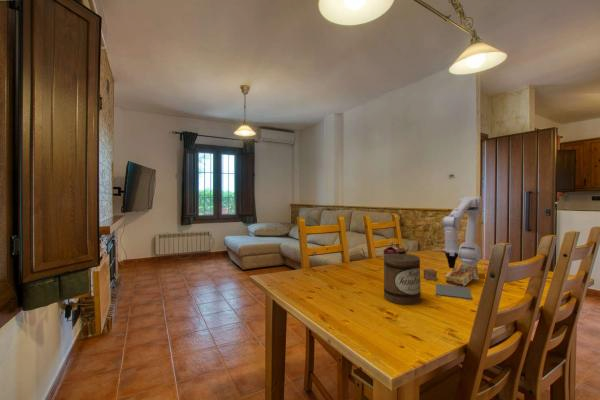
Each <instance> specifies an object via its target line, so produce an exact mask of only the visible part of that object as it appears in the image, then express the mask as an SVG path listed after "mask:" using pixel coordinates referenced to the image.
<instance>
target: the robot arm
mask: <svg viewBox="0 0 600 400" xmlns="http://www.w3.org/2000/svg"><path fill="white" fill-rule="evenodd" d="M458 201H459V204H458V206H457V207H454V208H453V209H452V211H451V212H450V213H449V215H447V216H444V217H443V218H442V222H441V225H442V228H443V231H444V248H442V249H441V250H442V252H443V251H444V252H445V253H444V255H445V257H446V260H447V264H448V268H449V269H454V268H455V267H456V262H457V261H456V260H457V259H459V260H460V261H461V264H466V265H471V266H477V267H478V262H480V260H481V259H482V251H481V250H482V249H481V247H480V246H479V245H478V244H477V242H476V239H477V231H478V225H479V223H478V222H479V215H480V213H482V212H483V207H484V200H483V197H482V196H480V195H478V196H477V195H476V196H474V195H470V196H468V195H467V196H463V195H461V196H460V197H459V200H458ZM465 213H466V214H467V219H466V220H467V222H466V229H465V236H464V237H465V238H464V242H463V243H461V244H460V245H459V236H458V235H459V228H460V226H461V223H462V221H461V220H462V219H463V218H464V217H465ZM472 280H477V281H479V280H480V278H479V275H478V274H477V275H476V276H475V277H474V278H473V279H472Z"/></svg>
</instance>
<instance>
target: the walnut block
mask: <svg viewBox="0 0 600 400" xmlns="http://www.w3.org/2000/svg"><path fill="white" fill-rule="evenodd" d="M437 273H438V272H437V270H436V269H434V268H423V279H424V280H425V281H431V282H433V281H435V282H437V280H438V277H437V276H438V274H437Z"/></svg>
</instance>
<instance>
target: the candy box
mask: <svg viewBox="0 0 600 400" xmlns="http://www.w3.org/2000/svg"><path fill="white" fill-rule="evenodd" d="M478 269H479V268H478V265H477V266H471V265H466V264H462V262H460V263H458V264H457V265H455V267H454V268H451V270H450V271H448V273H446V274H445V275H444V277H445V282H446V283H448V284H451V285H454V286H460V287H466V285H467V284H468V283H469V282H471V281H472V280H474V279H473V278H474V277H475V276H476V275H477V276H478V274H479V271H478Z"/></svg>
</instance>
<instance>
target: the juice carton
mask: <svg viewBox="0 0 600 400" xmlns="http://www.w3.org/2000/svg"><path fill="white" fill-rule="evenodd" d="M399 248H400V247H398V246H396V245H394V241H392V242H391V244H390V245H389V246H387V247H385V248H384V249H383V257H384V256H385V255H387V254H397V253H398V251H397V250H398V249H399Z"/></svg>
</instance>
